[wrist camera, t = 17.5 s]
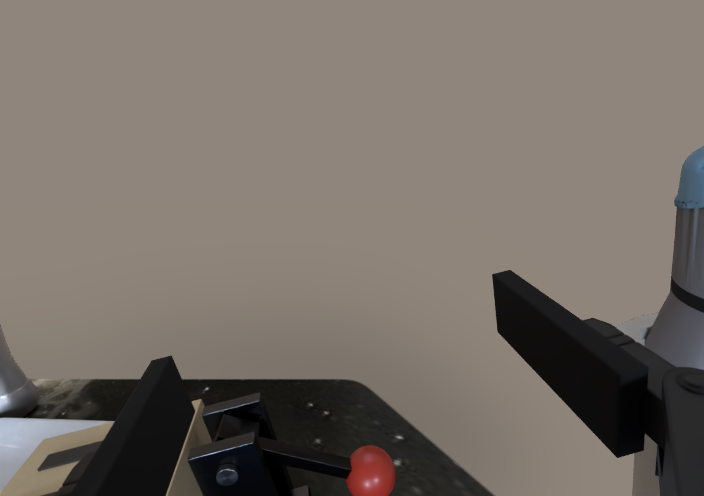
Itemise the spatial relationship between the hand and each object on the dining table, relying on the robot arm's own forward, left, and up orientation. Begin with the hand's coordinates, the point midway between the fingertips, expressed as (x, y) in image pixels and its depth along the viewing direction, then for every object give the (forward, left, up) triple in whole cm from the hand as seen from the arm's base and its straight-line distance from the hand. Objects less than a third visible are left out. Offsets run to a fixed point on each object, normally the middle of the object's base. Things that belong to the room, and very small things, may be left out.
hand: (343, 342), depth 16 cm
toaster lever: (+8, -8, -17) cm, 20 cm away
